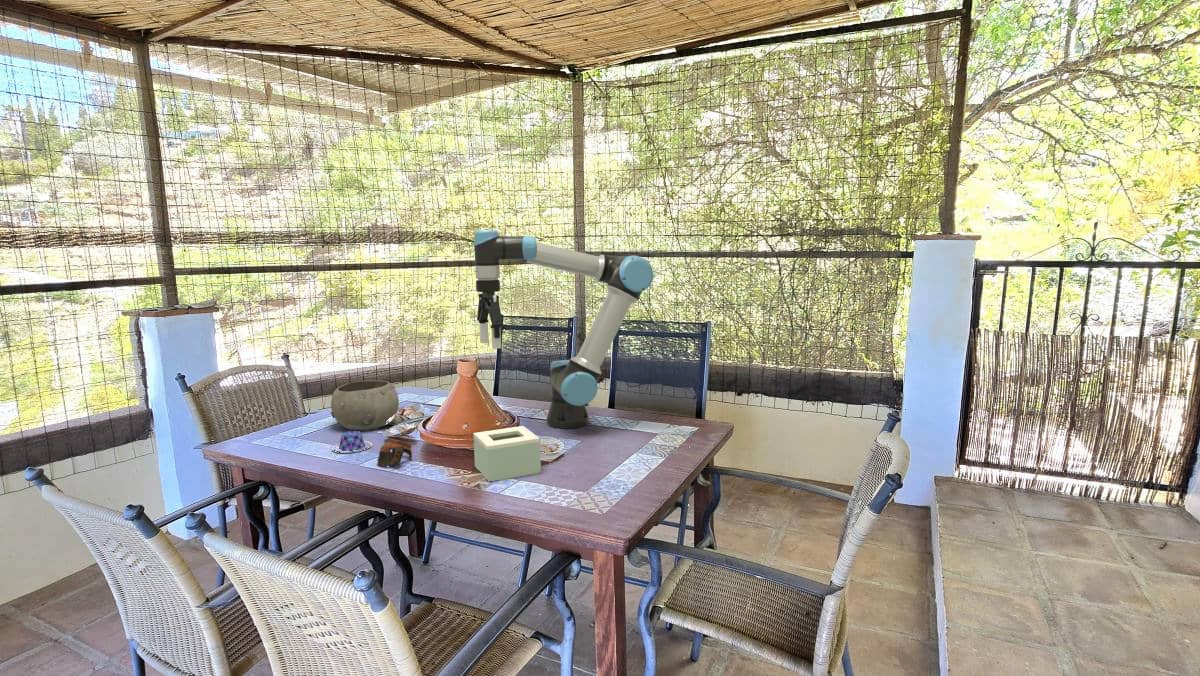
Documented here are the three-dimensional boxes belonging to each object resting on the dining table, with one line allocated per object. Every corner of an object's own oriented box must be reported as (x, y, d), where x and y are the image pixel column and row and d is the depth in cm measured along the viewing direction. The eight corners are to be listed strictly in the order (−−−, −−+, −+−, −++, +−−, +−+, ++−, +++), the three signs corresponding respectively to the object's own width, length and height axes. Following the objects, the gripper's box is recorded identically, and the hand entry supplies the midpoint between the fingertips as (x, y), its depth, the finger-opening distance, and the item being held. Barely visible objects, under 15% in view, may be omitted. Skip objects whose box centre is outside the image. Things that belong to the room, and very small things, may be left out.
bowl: (344, 417, 232) (341, 379, 229) (406, 415, 234) (403, 377, 232) (323, 435, 209) (320, 392, 207) (392, 432, 211) (389, 390, 209)
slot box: (524, 458, 183) (523, 425, 182) (540, 472, 171) (539, 438, 169) (474, 466, 177) (473, 433, 175) (488, 482, 164) (487, 446, 163)
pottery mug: (371, 464, 181) (381, 437, 184) (401, 472, 186) (411, 446, 188) (380, 465, 171) (391, 436, 174) (412, 474, 176) (422, 446, 178)
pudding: (329, 456, 188) (328, 440, 187) (334, 445, 199) (333, 429, 198) (371, 452, 191) (370, 436, 190) (373, 441, 203) (372, 426, 202)
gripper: (466, 278, 202) (468, 341, 205) (487, 281, 180) (490, 351, 183) (488, 277, 206) (490, 339, 209) (511, 280, 184) (514, 349, 187)
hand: (490, 345), depth 196 cm, fingers open, 13 cm apart
